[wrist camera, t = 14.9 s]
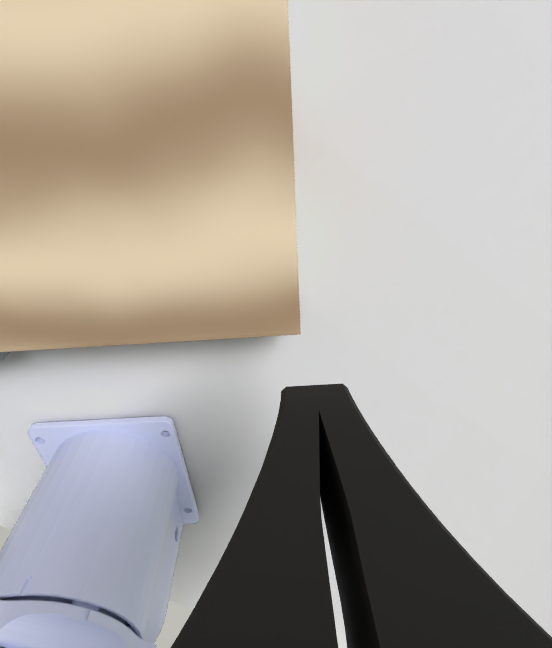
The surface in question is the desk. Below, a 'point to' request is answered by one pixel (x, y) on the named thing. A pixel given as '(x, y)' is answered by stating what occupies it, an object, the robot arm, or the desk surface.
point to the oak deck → (145, 172)
